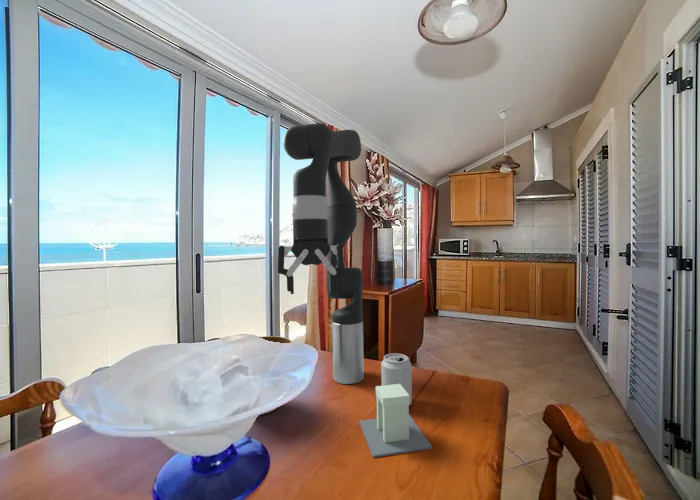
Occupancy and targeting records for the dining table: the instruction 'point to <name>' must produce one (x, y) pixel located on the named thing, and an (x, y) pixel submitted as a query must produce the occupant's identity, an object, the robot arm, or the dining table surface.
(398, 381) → the can
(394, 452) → the mat
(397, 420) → the pale green upright block
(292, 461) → the dining table surface
